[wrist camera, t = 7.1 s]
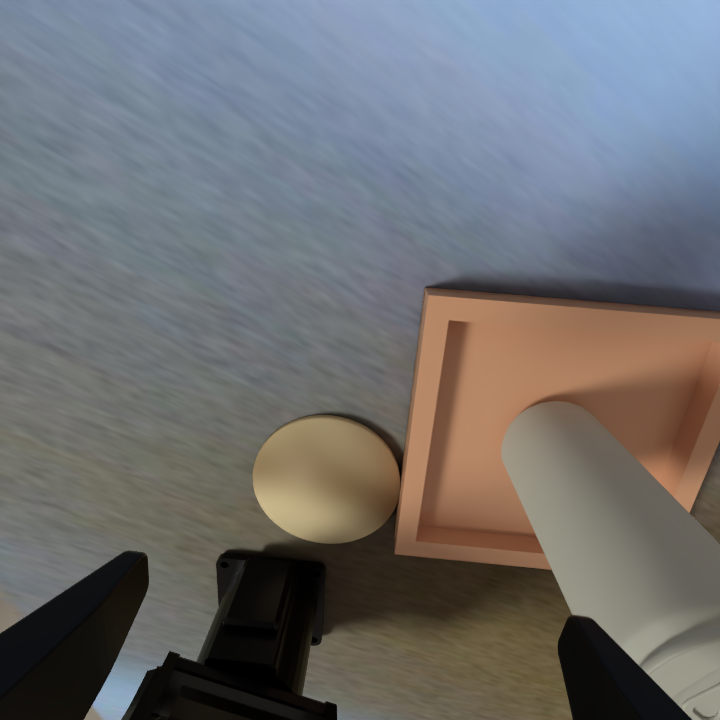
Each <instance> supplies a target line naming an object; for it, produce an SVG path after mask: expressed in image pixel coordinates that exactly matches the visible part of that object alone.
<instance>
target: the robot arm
mask: <svg viewBox="0 0 720 720" xmlns="http://www.w3.org/2000/svg"><path fill="white" fill-rule="evenodd" d="M226 562H227V563H226ZM216 568H217V585H218V602H219V608H218V610H217V613H216V615H215V618H214V620H213V623H212V625H211V627H210V630H209V632H208V635H207V637H206V640H205V642H204V644H203V647H202V649H201V652H200V654H199V657H198V659H197V662H195V661H192V660H189V659H185V658H182V657H180V654H177V653H174V652H171V651H170V652H169V653H168V655H167V657H166V659H165V661H164V663H163V665H162V666H160V667H159V666H157V668H156V669H153V670H149V671H147V673H146V675H145V677H144V679H143V681H142V683H141V685H140V687H139V689H138V691H137V693H136V695H135V697H134V699H133V700H132V702H131V704H130V706H129V708H128V710H127V711H126V713H125V715H124V716H123V718H122V719H121V720H337V705H336V704H333V703H330V702H327V701H326V702H325V703H323V702H320V701H317V700H313V699H310V698H307V697H304V696H302V694H303V688H304V682H305V676H306V670H307V664H308V658H309V652H310V646H311V645H313V646H315V645H319V644H320V643H321V640H322V632H323V614H324V597H325V580H326V567H325V566H324V565H323V564H322V563H319V562H310V561H300V560H290V559H280V558H270V557H260V556H250V555H240V554H230V553H223V554H221V555H220V556H219V558H218V560H217V563H216ZM316 571H319V572H316ZM148 585H149V573H148V558H147V555H146V554H145V553H143V552H137V551H125V552H123V553H121V554H120V555H118V556H117V557H115V558H114V559H112V560H111V561H109V562H108V563H106V564H105V565H103V566H102V567H100V568H99V569H97V570H96V571H94V572H93V573H91V574H90V575H88V576H87V577H85V578H84V579H82V580H81V581H79V582H78V583H76V584H75V585H73V586H71V587H70V588H68V589H67V590H65V591H64V592H62V593H61V594H59V595H58V596H56V597H55V598H53V599H52V600H50V601H49V602H47V603H46V604H44V605H43V606H41V607H40V608H38V609H37V610H35V611H34V612H32V613H31V614H29V615H28V616H26V617H25V618H23V619H21V620H20V621H18V622H17V623H15V624H14V625H12V626H11V627H9V628H8V629H6V630H5V631H3V632H2V633H0V720H84V718H85V716H86V714H87V713H88V711H89V709H90V708H91V706H92V704H93V702H94V701H95V699H96V697H97V695H98V693H99V692H100V690H101V688H102V686H103V685H104V683H105V681H106V679H107V677H108V675H109V673H110V672H111V669H112V667H113V665H114V663H115V661H116V659H117V657H118V655H119V652H120V650H121V648H122V646H123V643H124V641H125V639H126V637H127V635H128V632H129V630H130V628H131V626H132V624H133V621H134V619H135V617H136V615H137V613H138V610H139V608H140V606H141V604H142V602H143V599H144V597H145V595H146V592H147V589H148ZM558 655H559V659H560V664H561V668H562V673H563V677H564V682H565V686H566V691H567V695H568V699H569V704H570V708H571V713H572V717H573V720H692V719H691V718H690V717H689V716H688V715H687V714H686V713H685V712H684V711H683V710H682V709H681V708H680V706H679V705H678V704H677V703H676V702H675V701H674V700H673V699H672V698H671V697H670V696H669V695H668V694H667V693H666V692H665V691H664V690H663V689H662V688H661V687H660V686H659V685H658V684H657V683H656V682H655V681H654V680H653V679H652V678H651V677H650V676H649V675H648V674H647V673H646V672H645V671H644V670H643V669H642V668H641V667H640V666H639V665H638V664H637V663H636V662H635V661H634V660H633V659H632V658H631V657H630V656H629V655H628V654H627V653H626V652H625V651H624V650H623V649H622V648H621V647H620V646H619V645H618V644H617V643H616V642H615V641H614V640H613V639H612V638H611V637H610V636H609V635H608V634H607V633H606V632H605V631H604V630H603V629H602V628H601V627H600V626H599V625H598V624H597V623H596V622H595V621H594V620H593V619H592V618H590V617H587V616H581V615H570V616H569V617H568V619H567V621H566V623H565V626H564V628H563V631H562V633H561V635H560V638H559V641H558Z"/></svg>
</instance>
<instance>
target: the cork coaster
mask: <svg viewBox="0 0 720 720" xmlns="http://www.w3.org/2000/svg"><path fill="white" fill-rule="evenodd" d="M253 487H254V491H255V495H256V497H257V499H258V502H259V504H260V505H261V507H262V509H263V510H264V512H265V513H266V514H267V516H268V517H269V518H270V519H271V520H272V521H273V522H274V523H276V524H277V525H278V526H279V527H281V528H282V529H284V530H285V531H287V532H288V533H290V534H292V535H294V536H296V537H299V538H302V539H304V540H308V541H312V542H317V543H326V544H337V543H346V542H351V541H354V540H358V539H360V538H363V537H365V536H367V535H369V534H371V533H373V532H374V531H376V530H377V529H378V528H380V527H381V526H382V525H383V524H384V523H385V522H386V521H387V520H388V519H389V517H390V516H391V515H392V513H393V511H394V509H395V507H396V505H397V502H398V499H399V494H400V474H399V468H398V464H397V461H396V459H395V457H394V454H393V453H392V451H391V450H390V448H389V446H388V445H387V444H386V443H385V442H384V440H383V439H382V438H381V437H380V436H378V435H377V434H376V433H375V432H374V431H372V430H371V429H369V428H368V427H366V426H364V425H362V424H361V423H359V422H356V421H354V420H351V419H348V418H344V417H340V416H333V415H312V416H306V417H302V418H299V419H296V420H293V421H291V422H289V423H287V424H285V425H283V426H281V427H280V428H279V429H277V430H276V431H275V432H274V433H273V434H271V435H270V436H269V438H268V439H267V440H266V441H265V443H264V444H263V446H262V448H261V449H260V451H259V453H258V456H257V458H256V461H255V464H254V469H253Z"/></svg>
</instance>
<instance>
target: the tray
mask: <svg viewBox="0 0 720 720" xmlns="http://www.w3.org/2000/svg"><path fill="white" fill-rule="evenodd" d="M551 401H561V402H570V403H573V404H575V405H578V406H581V407H583V408H584V409H586V410H587V411H589V412H590V413H591V414H593V415H594V416H595V417H596V419H597V420H598V421H599V422H600V423H601V424H602V425H603V426H604V427H605V428H606V429H607V430H608V431H609V432H610V433H611V434H612V435H613V436H614V437H615V438H616V439H617V440H618V441H619V442H620V443H621V444H622V445H623V446H624V447H625V448H626V449H627V450H628V451H629V452H630V453H631V454H632V455H633V456H634V457H635V458H636V459H637V460H638V461H639V462H640V463H641V464H642V465H643V466H644V467H645V468H646V469H647V470H648V471H649V472H650V473H651V475H652V476H653V477H654V478H655V479H656V480H657V481H658V482H659V483H660V484H661V485H662V486H663V487H664V488H665V489H666V490H667V491H668V492H669V493H670V494H671V495H672V496H673V497H674V498H675V499H676V500H677V501H678V502H679V503H680V504H681V505H682V506H683V507H684V508H685V509H686V510H687V511H688V512H689V513H690V511H691V508H692V506H693V503H694V501H695V499H696V496H697V494H698V492H699V489H700V487H701V484H702V482H703V480H704V477H705V475H706V473H707V470H708V468H709V466H710V463H711V461H712V458H713V456H714V454H715V451H716V449H717V447H718V444H719V442H720V311H709V310H697V309H684V308H672V307H660V306H648V305H636V304H624V303H611V302H599V301H587V300H575V299H563V298H551V297H538V296H526V295H514V294H502V293H490V292H478V291H465V290H453V289H441V288H429V287H425V288H424V296H423V304H422V312H421V320H420V328H419V336H418V344H417V352H416V360H415V368H414V376H413V384H412V392H411V400H410V408H409V416H408V423H407V431H406V439H405V447H404V455H403V463H402V471H401V479H400V494H399V499H398V503H397V511H396V519H395V527H394V544H395V554H397V555H408V556H418V557H428V558H438V559H448V560H458V561H468V562H479V563H489V564H499V565H509V566H519V567H529V568H539V569H549V570H552V569H551V567H550V565H549V562H548V560H547V558H546V556H545V554H544V551H543V549H542V547H541V545H540V543H539V540H538V538H537V536H536V534H535V532H534V529H533V527H532V525H531V523H530V521H529V518H528V516H527V514H526V512H525V510H524V508H523V505H522V503H521V501H520V499H519V497H518V494H517V492H516V490H515V488H514V486H513V483H512V481H511V479H510V477H509V475H508V472H507V470H506V468H505V466H504V463H503V461H502V459H501V446H502V442H503V438H504V435H505V433H506V431H507V429H508V427H509V425H510V424H511V423H512V422H513V420H514V419H515V418H516V417H517V415H519V414H520V413H522V412H523V411H525V410H526V409H528V408H529V407H532V406H535V405H537V404H540V403H544V402H551Z"/></svg>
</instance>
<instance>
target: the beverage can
mask: <svg viewBox="0 0 720 720" xmlns="http://www.w3.org/2000/svg"><path fill="white" fill-rule="evenodd" d="M501 459H502V461H503V463H504V466H505V468H506V470H507V472H508V475H509V477H510V479H511V481H512V483H513V486H514V488H515V490H516V492H517V494H518V497H519V499H520V501H521V503H522V505H523V508H524V510H525V512H526V514H527V516H528V518H529V521H530V523H531V525H532V527H533V529H534V532H535V534H536V536H537V538H538V540H539V543H540V545H541V547H542V549H543V551H544V554H545V556H546V558H547V560H548V562H549V565H550V567H551V569H552V571H553V573H554V576H555V578H556V580H557V582H558V584H559V587H560V589H561V591H562V593H563V595H564V597H565V600H566V602H567V604H568V606H569V608H570V611H571V613H572V615H581V616H587V617H590V618H592V619H593V620H594V621H595V622H596V623H597V624H598V625H599V626H600V627H601V628H602V629H603V630H604V631H605V632H606V633H607V634H608V635H609V636H610V637H611V638H612V639H613V640H614V641H615V642H616V643H617V644H618V645H619V646H620V647H621V648H622V649H623V650H624V651H625V652H626V653H627V654H628V655H629V656H630V657H631V658H632V659H633V660H634V661H635V662H636V663H637V664H638V665H639V666H640V667H641V668H642V669H643V670H644V671H645V672H646V673H647V674H648V675H649V676H650V677H651V678H652V679H653V680H654V681H655V682H656V683H657V684H658V685H659V686H660V687H661V688H662V689H663V690H664V691H665V692H666V693H667V694H668V695H669V696H670V697H671V698H672V699H673V700H674V701H675V702H676V703H677V704H678V705H679V706H680V708H681V709H682V710H683V711H684V712H685V713H686V714H687V715H688V716H689V717H690V718H691V719H692V720H720V544H719V543H718V542H717V541H716V540H715V539H714V538H713V537H712V536H711V535H710V534H709V533H708V532H707V531H706V530H705V528H704V527H703V526H702V525H701V524H700V523H699V522H698V521H697V520H696V519H695V518H694V517H693V516H692V515H691V514H690V513H689V512H688V511H687V510H686V509H685V508H684V507H683V506H682V505H681V504H680V503H679V502H678V501H677V500H676V499H675V498H674V497H673V496H672V495H671V494H670V493H669V492H668V491H667V490H666V489H665V488H664V487H663V486H662V485H661V484H660V483H659V482H658V481H657V480H656V479H655V478H654V477H653V476H652V475H651V473H650V472H649V471H648V470H647V469H646V468H645V467H644V466H643V465H642V464H641V463H640V462H639V461H638V460H637V459H636V458H635V457H634V456H633V455H632V454H631V453H630V452H629V451H628V450H627V449H626V448H625V447H624V446H623V445H622V444H621V443H620V442H619V441H618V440H617V439H616V438H615V437H614V436H613V435H612V434H611V433H610V432H609V431H608V430H607V429H606V428H605V427H604V426H603V425H602V424H601V423H600V422H599V421H598V420H597V419H596V417H595V416H594V415H593V414H591V413H590V412H589V411H587V410H586V409H584V408H583V407H581V406H578V405H575V404H573V403H570V402H561V401H551V402H544V403H540V404H537V405H535V406H532V407H529V408H528V409H526V410H525V411H523V412H522V413H520V414H519V415H517V417H516V418H515V419H514V420H513V422H512V423H511V424H510V425H509V427H508V429H507V431H506V433H505V435H504V438H503V442H502V446H501Z"/></svg>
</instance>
